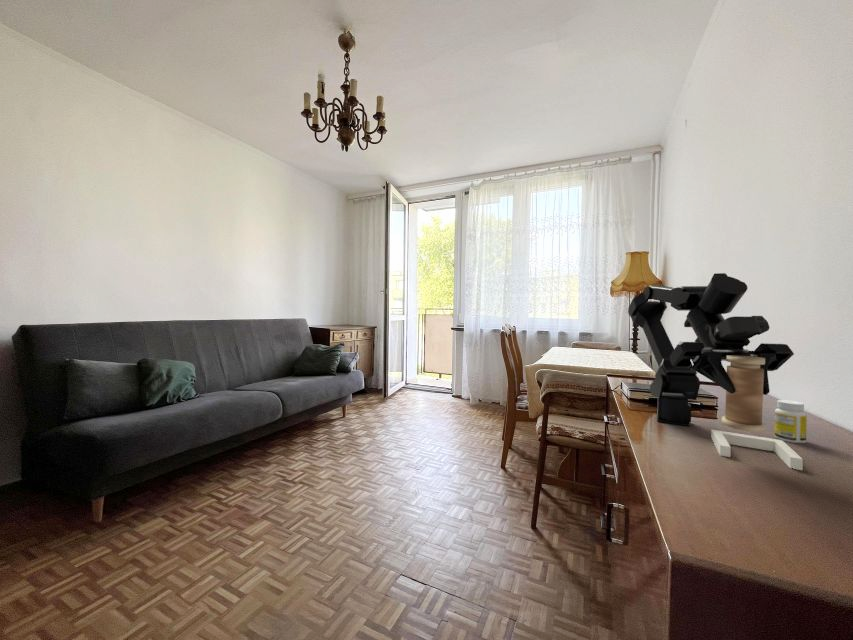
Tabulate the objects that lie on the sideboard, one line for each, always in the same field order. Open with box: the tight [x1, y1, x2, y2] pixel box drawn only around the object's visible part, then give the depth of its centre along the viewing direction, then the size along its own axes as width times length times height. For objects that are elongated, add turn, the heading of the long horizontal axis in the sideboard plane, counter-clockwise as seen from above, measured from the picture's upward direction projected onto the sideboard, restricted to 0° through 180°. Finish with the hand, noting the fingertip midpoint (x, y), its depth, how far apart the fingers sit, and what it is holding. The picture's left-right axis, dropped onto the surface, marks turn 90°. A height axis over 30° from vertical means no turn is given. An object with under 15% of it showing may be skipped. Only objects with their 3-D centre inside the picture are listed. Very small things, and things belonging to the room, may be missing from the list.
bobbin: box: [721, 355, 767, 433], centre depth 62 cm, size 6×6×13 cm
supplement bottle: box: [774, 399, 808, 444], centre depth 74 cm, size 5×5×8 cm
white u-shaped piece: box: [710, 429, 804, 471], centre depth 66 cm, size 11×11×2 cm
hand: (749, 392), depth 61 cm, fingers closed on bobbin, 5 cm apart
